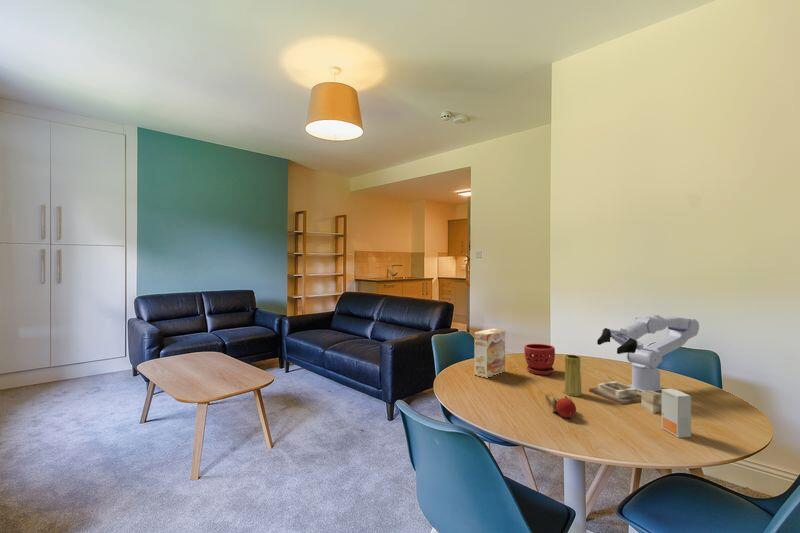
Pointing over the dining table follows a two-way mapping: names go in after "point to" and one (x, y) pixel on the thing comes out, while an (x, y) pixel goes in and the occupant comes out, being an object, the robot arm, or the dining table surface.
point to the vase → (572, 375)
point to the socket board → (617, 392)
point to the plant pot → (540, 358)
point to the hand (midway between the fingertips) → (607, 346)
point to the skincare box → (676, 412)
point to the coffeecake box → (489, 352)
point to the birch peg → (651, 401)
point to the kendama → (561, 405)
